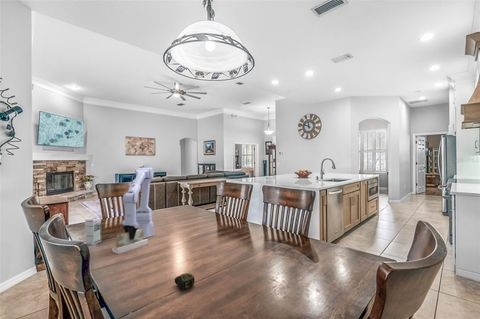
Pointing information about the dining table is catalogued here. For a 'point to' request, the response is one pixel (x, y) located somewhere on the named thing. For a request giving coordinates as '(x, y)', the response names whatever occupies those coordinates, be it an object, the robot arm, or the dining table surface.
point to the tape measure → (185, 281)
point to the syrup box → (93, 230)
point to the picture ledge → (130, 246)
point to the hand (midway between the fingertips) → (130, 238)
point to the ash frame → (125, 240)
